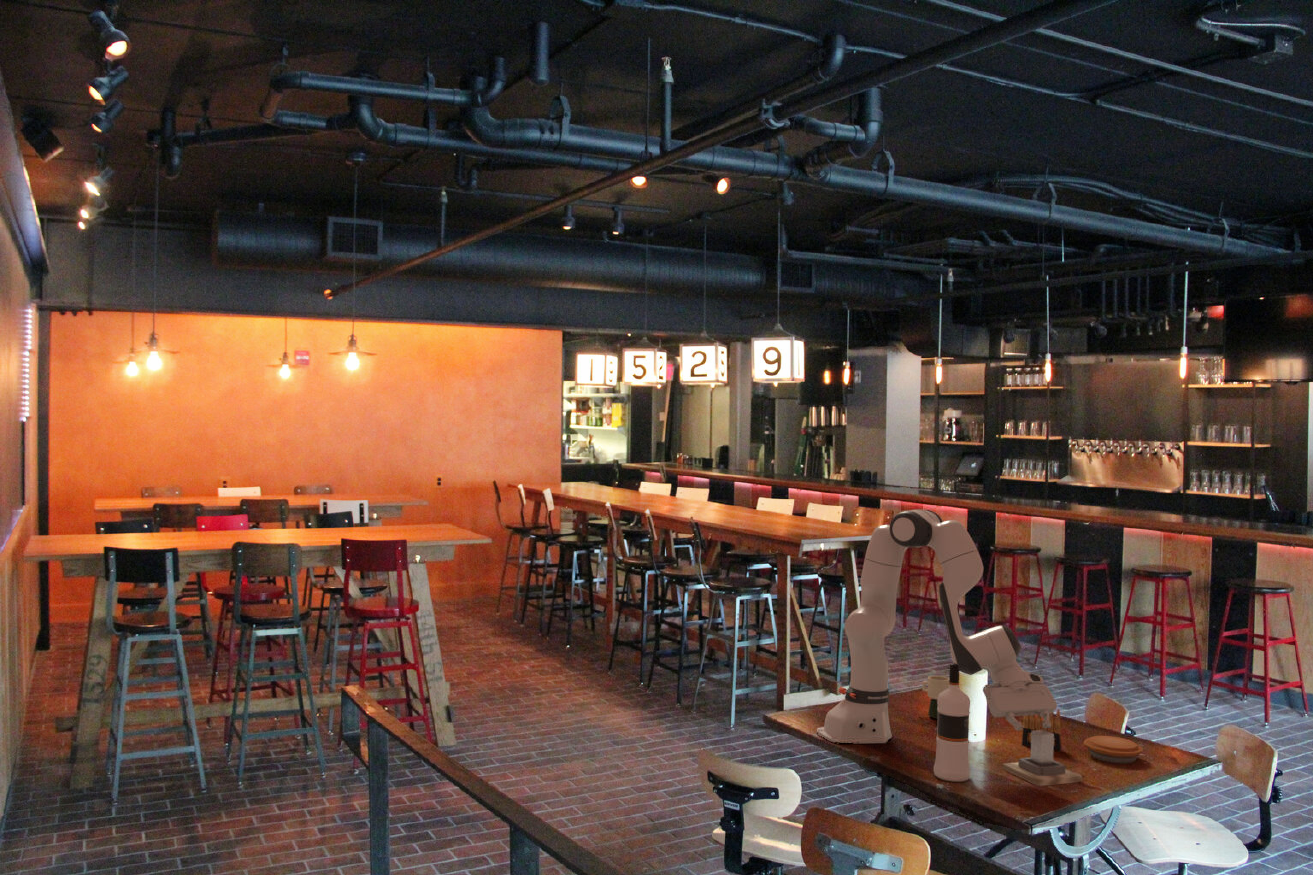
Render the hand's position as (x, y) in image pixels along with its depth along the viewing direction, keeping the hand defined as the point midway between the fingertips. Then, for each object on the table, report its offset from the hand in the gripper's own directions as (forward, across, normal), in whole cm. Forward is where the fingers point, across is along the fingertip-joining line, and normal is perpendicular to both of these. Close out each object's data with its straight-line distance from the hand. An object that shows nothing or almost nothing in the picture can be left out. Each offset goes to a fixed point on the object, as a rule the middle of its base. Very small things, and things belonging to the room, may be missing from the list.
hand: (1034, 728), depth 270 cm
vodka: (+7, -25, +10) cm, 28 cm away
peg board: (+10, 0, +6) cm, 12 cm away
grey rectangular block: (+9, 0, +5) cm, 11 cm away
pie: (+5, +32, +12) cm, 35 cm away
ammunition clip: (-4, +18, +21) cm, 28 cm away
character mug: (-29, +7, +46) cm, 55 cm away
